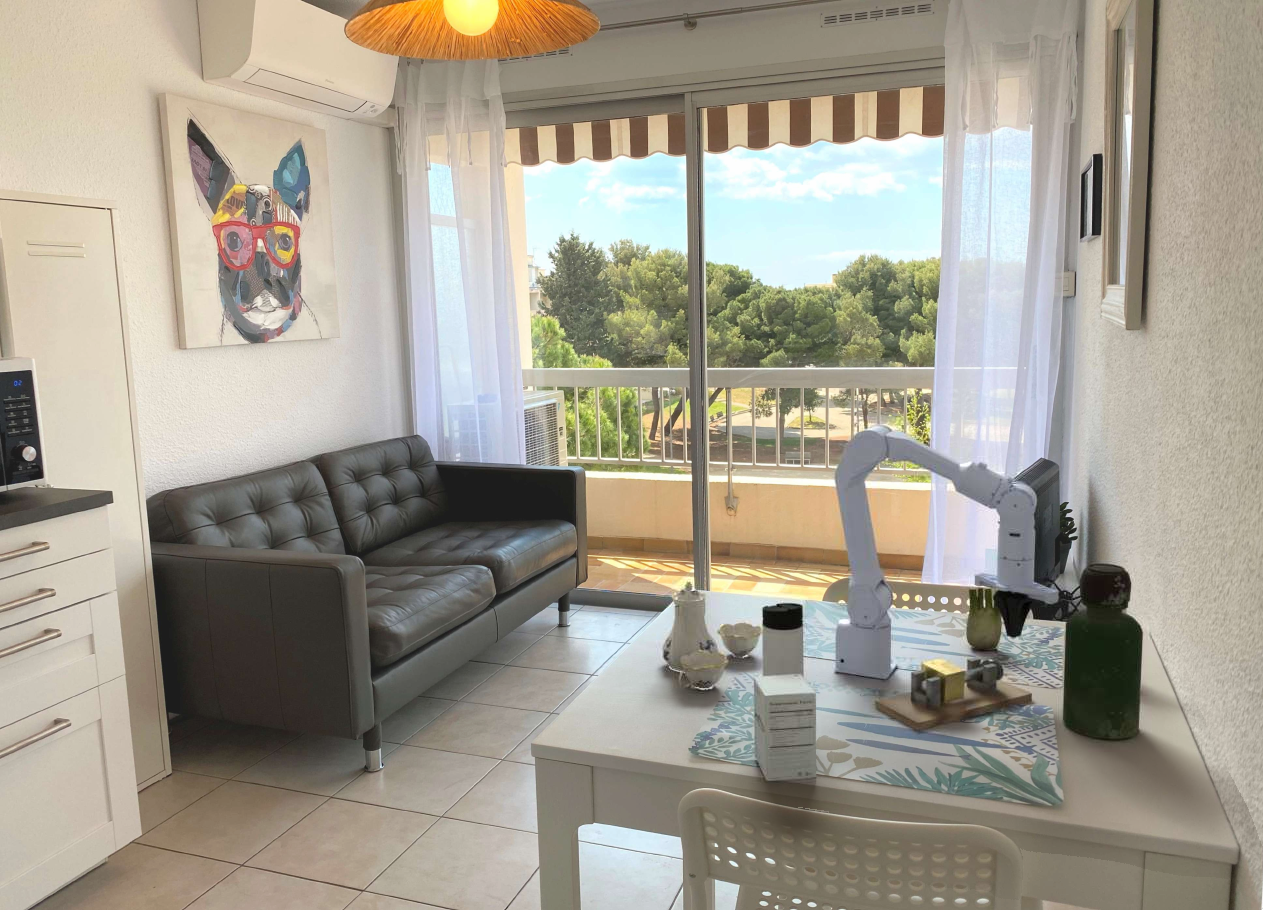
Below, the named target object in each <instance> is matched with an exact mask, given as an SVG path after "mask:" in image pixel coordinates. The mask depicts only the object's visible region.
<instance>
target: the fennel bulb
mask: <svg viewBox="0 0 1263 910" xmlns="http://www.w3.org/2000/svg"><path fill="white" fill-rule="evenodd" d="M992 590H993V588H989V587H985V588H984V587H983V586H978V587H977V588H976V587H970V588H968V596H969V599H968V600H969V608H968V609H969V610H968V616H967V619H966V628H965V629H966V630H965V631H966V632H965V633H966V635H965V637H966V640H967V641H966V642H967V643H968V644H969V646H970V647H973V648H974V649H978V650H984V651H991V650H995V649H996V648H997V647H998V645H999V643H1000V640H1001V636H1002V628H1003V627H1002V626H1003V618H1002V615H1001V613H1000V610H999V608H998V606H997V605H996V603H995V601H994V600H993V593H992ZM997 592H998V590H997V589H994V594H997Z"/></svg>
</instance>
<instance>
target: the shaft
mask: <svg viewBox="0 0 1263 910" xmlns="http://www.w3.org/2000/svg"><path fill="white" fill-rule="evenodd" d="M988 664H995V665H997V681H998V680H1001V681H1002V679H1003V677H1004V668H1003V665H1002V664H1001V662H1000V661H999V660H998V659H996V658H989V659H986V660H983V661H981V667H980V668H975V669H971V670H967V669H966V670H965V683H966V682H970V681H974V680H978V679H982V678H983V666H984V665H988ZM919 687H920V690H921V691H922V692H924V693H925V692H926V680H925V681H921V682H920V683H919Z"/></svg>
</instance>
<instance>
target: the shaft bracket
mask: <svg viewBox="0 0 1263 910" xmlns="http://www.w3.org/2000/svg"><path fill="white" fill-rule="evenodd" d="M966 663H967V664H966V665H967V666H966V671H967V670H971V669H975V668H980V667H981V663H982V659H981V658H979V657H971V658H969V659H968V658H967V661H966ZM921 681H925V672H924V671H922V670H921V669H919V670H915V671H911V672H910V692H906V693H903V694H897V695H894V696H889V697H886V698H882V699H877V700H875V701H874V703H875V705H874V707H875V709H876V710H879V711H881V712H882V713H883V714H886V715H888V716H889V717H891V718H894V719H896V720H897V721H899V722H901V723H903V724H905V725H906V726H908V727H910V728H912V729H913V730H916V731H921V730H925V729H929V728H932V727H937V726H939V725H943V724H948V723H951V722H954V721H958V720H959V721H960V720H963V719H966V718H970V717H973V716H977V715H981V714H986V713H988V712H993V711H997V710H1000V709H1004V708H1008V707H1011V706H1015V705H1019V704H1023V703H1027V702H1031V701H1033V693H1032V692H1029V691H1027V690H1025V689H1023V688H1020V687H1018V686H1016V685H1013V684H1010V683H1008V682H1005V681H1003V680H1002V679H1001V680H998V681H997V665H995V664H988V665H984V666H983V678H982V679H978V680H974V681H970V682H966V683H965V684H964V698H963V699H959V700H955V701H951V702H947V703H944V702H942V701H940V688H941V679H940V678H937V677H934V678H929V679H926V692H925V693H924V692H922V691H921V690H920V687H919V683H920V682H921Z"/></svg>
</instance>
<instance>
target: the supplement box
mask: <svg viewBox="0 0 1263 910" xmlns="http://www.w3.org/2000/svg"><path fill="white" fill-rule="evenodd" d="M753 704H754V705H753V707H754V708H753V709H754V710H753V715H754V716H753V717H754V718H753V721H754V729H753V730H754V759H755V758H756V759H757V760H756V759H755V760H756V762H757V761H758V762H757V764H758V763H759V764H758V766H759V768H760V770H761V772H762V774H763V776H764V778H765V781H767V782H775V781H777V782H778V781H779V782H780V781H789V780H791V781H793V780H805V779H806V780H807V778H808V779H815V778H816V777H817V695H816V692H815V690H814V689H813V688H812V686H811V685H810V683H809V682H808V681H807V680H806V678H805V677H803V676H802V674H788V675H774V676H763V675H762V676H754V677H753ZM814 777H815V778H814Z"/></svg>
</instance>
